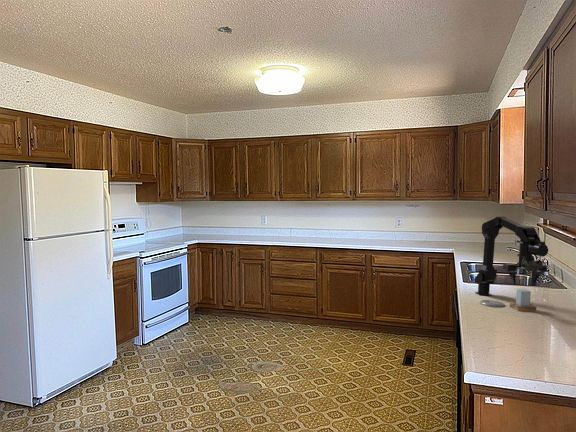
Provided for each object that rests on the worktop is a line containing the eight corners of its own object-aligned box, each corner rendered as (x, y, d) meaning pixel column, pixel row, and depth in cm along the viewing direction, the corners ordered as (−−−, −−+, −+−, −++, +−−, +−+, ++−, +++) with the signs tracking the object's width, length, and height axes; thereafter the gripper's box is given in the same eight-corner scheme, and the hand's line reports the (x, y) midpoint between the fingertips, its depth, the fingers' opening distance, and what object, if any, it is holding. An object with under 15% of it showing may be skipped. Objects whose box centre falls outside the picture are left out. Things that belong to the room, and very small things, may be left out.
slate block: (515, 307, 218) (516, 289, 218) (524, 307, 218) (525, 289, 218) (520, 309, 214) (521, 291, 213) (529, 310, 214) (530, 291, 213)
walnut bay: (509, 306, 220) (509, 302, 220) (526, 306, 220) (527, 302, 220) (518, 310, 212) (518, 306, 212) (536, 311, 212) (536, 307, 212)
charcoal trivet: (476, 300, 228) (476, 299, 228) (497, 301, 229) (498, 300, 228) (486, 307, 218) (486, 305, 217) (508, 307, 218) (508, 306, 218)
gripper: (514, 255, 206) (512, 288, 207) (555, 256, 206) (552, 289, 207) (503, 251, 217) (501, 283, 218) (541, 252, 217) (539, 284, 218)
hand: (523, 285), depth 215 cm, fingers open, 9 cm apart
